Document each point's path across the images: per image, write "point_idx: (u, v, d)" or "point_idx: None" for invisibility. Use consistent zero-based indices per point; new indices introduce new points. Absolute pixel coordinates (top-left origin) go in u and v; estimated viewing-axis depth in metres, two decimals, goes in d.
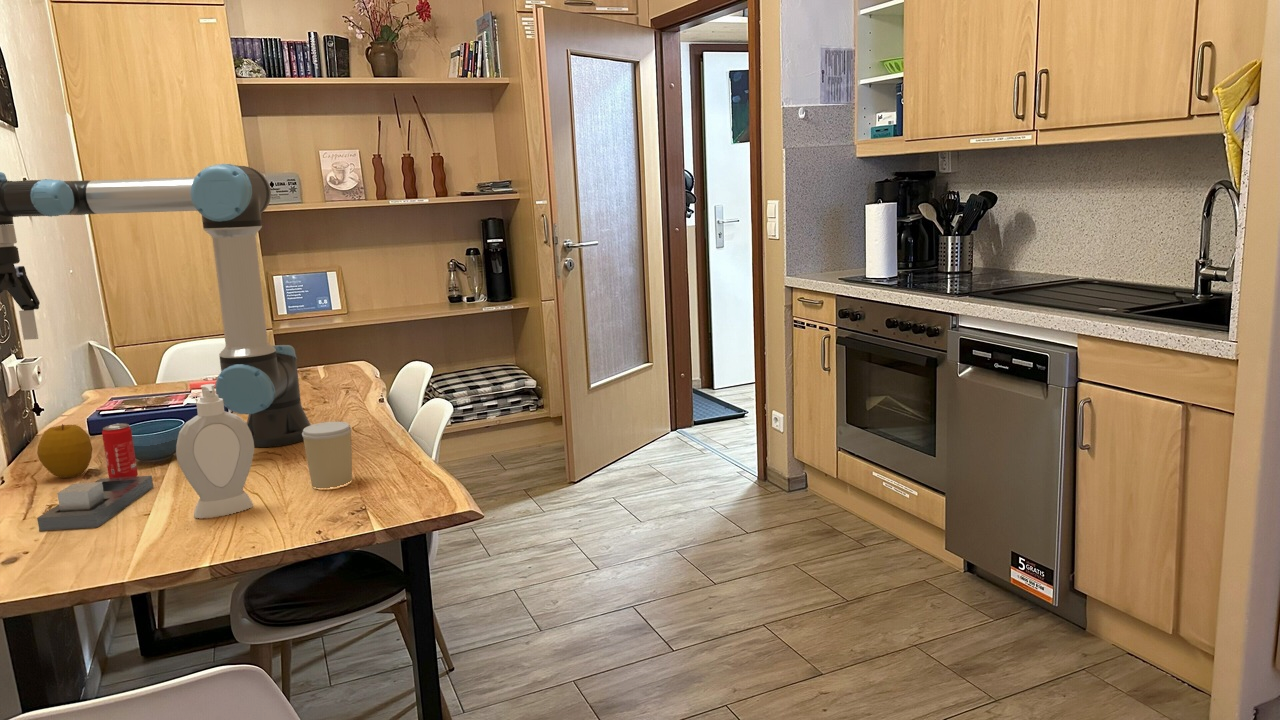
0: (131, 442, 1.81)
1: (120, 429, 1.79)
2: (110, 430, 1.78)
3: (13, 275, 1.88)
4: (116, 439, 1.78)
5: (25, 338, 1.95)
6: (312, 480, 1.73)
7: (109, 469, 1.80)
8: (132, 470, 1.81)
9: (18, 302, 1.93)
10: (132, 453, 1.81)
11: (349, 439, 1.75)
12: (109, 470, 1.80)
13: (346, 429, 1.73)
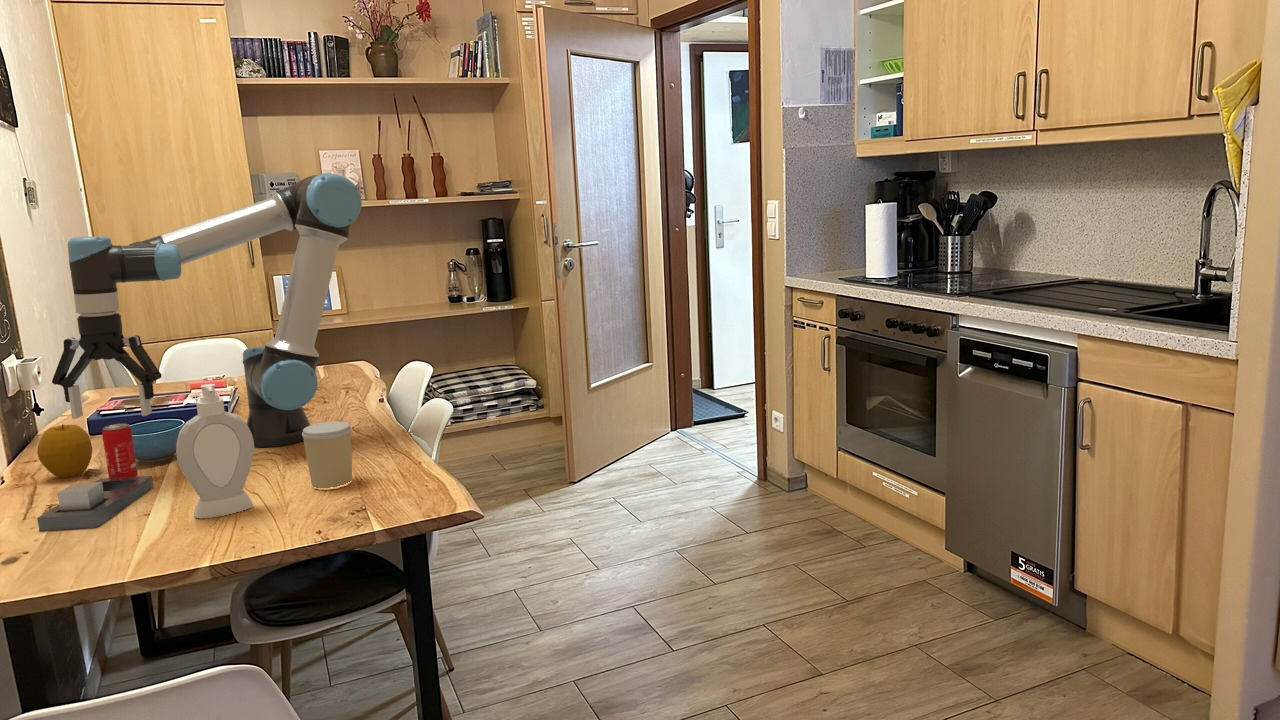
0: (131, 442, 1.81)
1: (120, 429, 1.79)
2: (110, 430, 1.78)
3: (103, 346, 1.75)
4: (116, 439, 1.78)
5: None
6: (312, 480, 1.73)
7: (109, 469, 1.80)
8: (132, 470, 1.81)
9: None
10: (132, 453, 1.81)
11: (349, 439, 1.75)
12: (109, 470, 1.80)
13: (346, 429, 1.73)
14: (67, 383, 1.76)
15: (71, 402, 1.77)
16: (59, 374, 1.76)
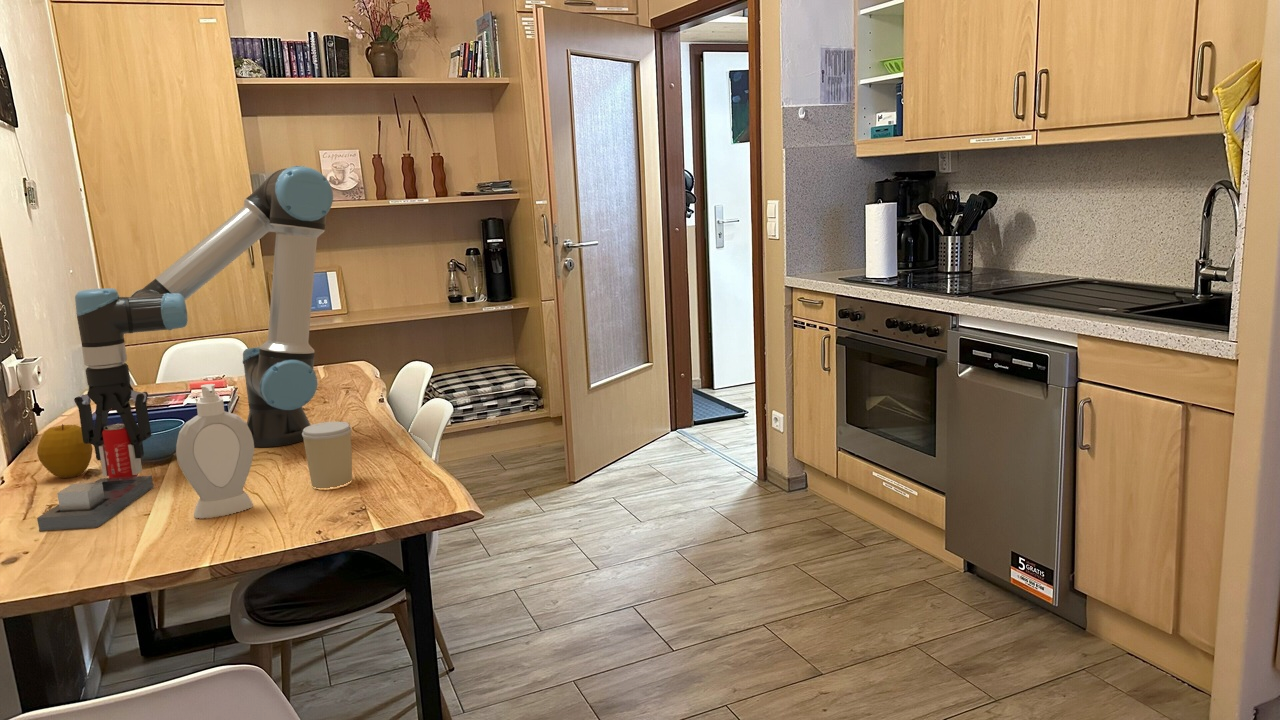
0: None
1: (120, 429, 1.79)
2: (110, 430, 1.78)
3: (111, 396, 1.77)
4: (117, 439, 1.78)
5: None
6: (312, 480, 1.73)
7: (109, 469, 1.80)
8: None
9: None
10: None
11: (349, 439, 1.75)
12: (109, 470, 1.80)
13: (346, 429, 1.73)
14: (97, 441, 1.79)
15: (102, 460, 1.80)
16: (86, 432, 1.79)
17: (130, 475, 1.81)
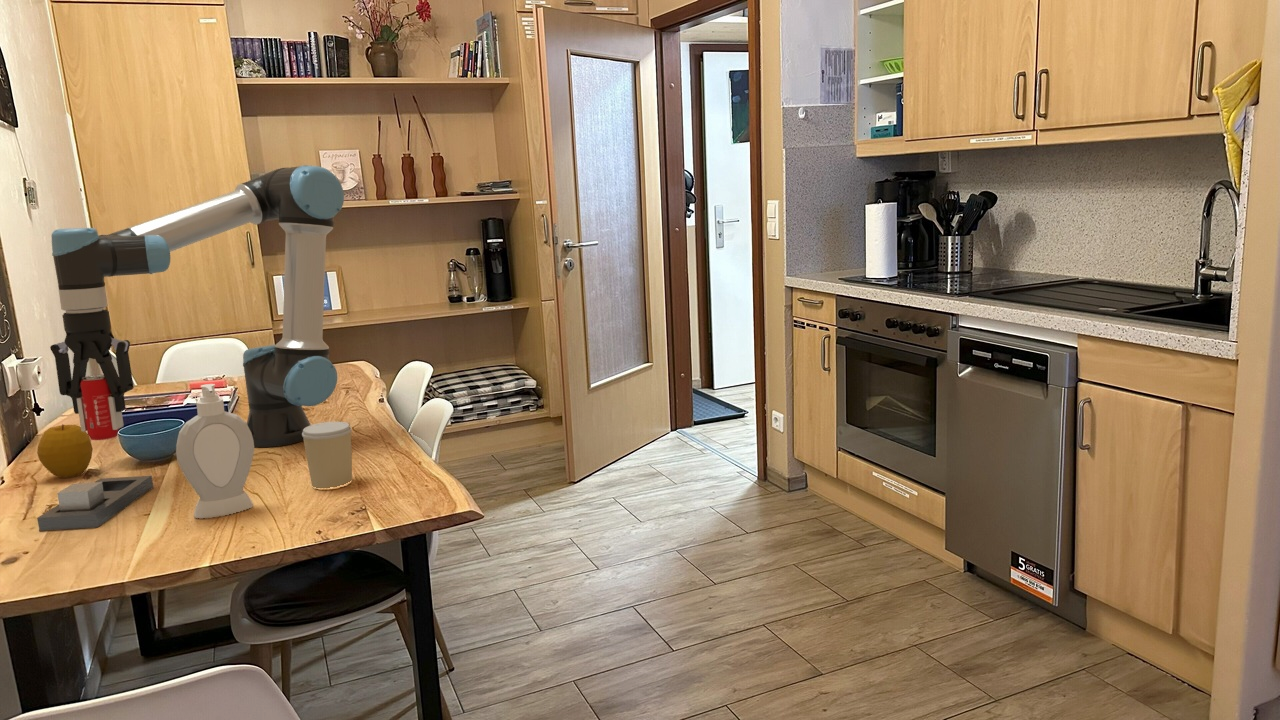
0: None
1: (100, 379, 1.66)
2: (89, 380, 1.65)
3: (90, 344, 1.65)
4: (96, 390, 1.66)
5: None
6: (312, 480, 1.73)
7: (88, 423, 1.67)
8: None
9: None
10: None
11: (349, 439, 1.75)
12: (88, 424, 1.67)
13: (346, 429, 1.73)
14: (75, 392, 1.67)
15: (80, 414, 1.67)
16: (63, 383, 1.66)
17: (110, 430, 1.68)
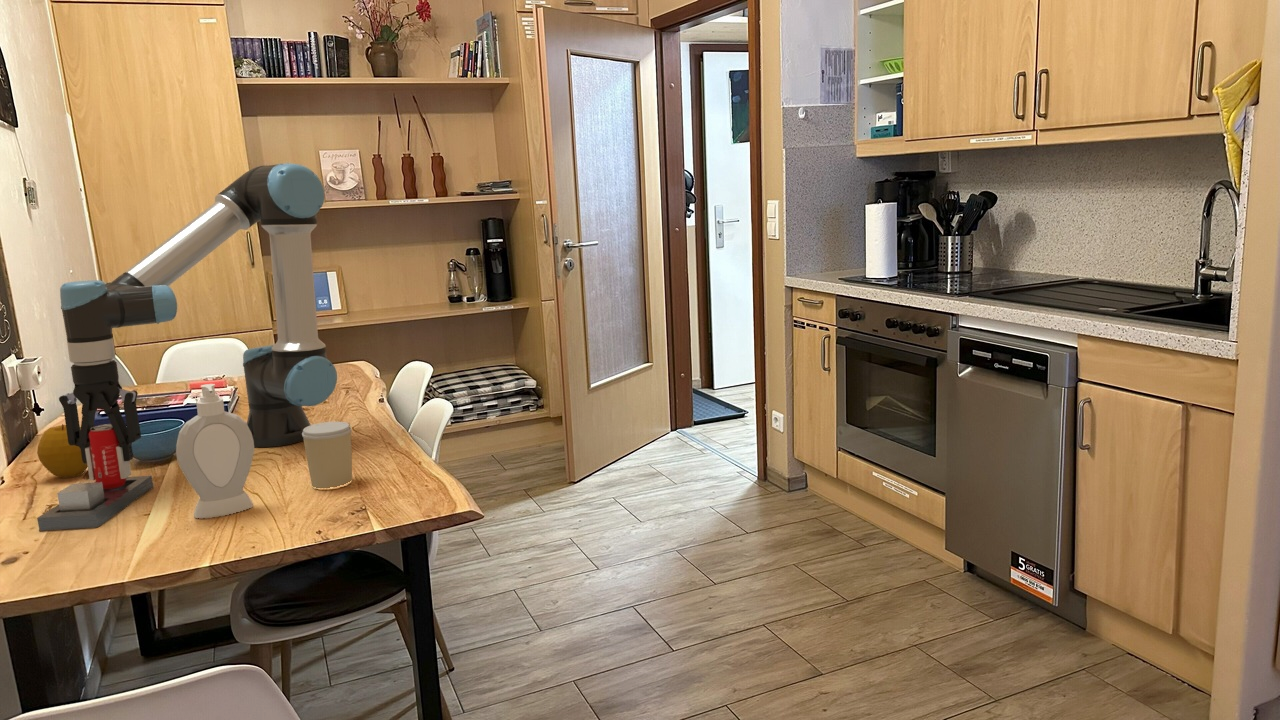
0: None
1: (108, 430, 1.68)
2: (97, 431, 1.67)
3: (98, 395, 1.67)
4: (104, 441, 1.68)
5: None
6: (312, 480, 1.73)
7: (96, 472, 1.69)
8: None
9: None
10: None
11: (349, 439, 1.75)
12: (96, 473, 1.69)
13: (346, 429, 1.73)
14: (83, 443, 1.69)
15: (88, 463, 1.69)
16: (72, 433, 1.68)
17: (118, 479, 1.70)
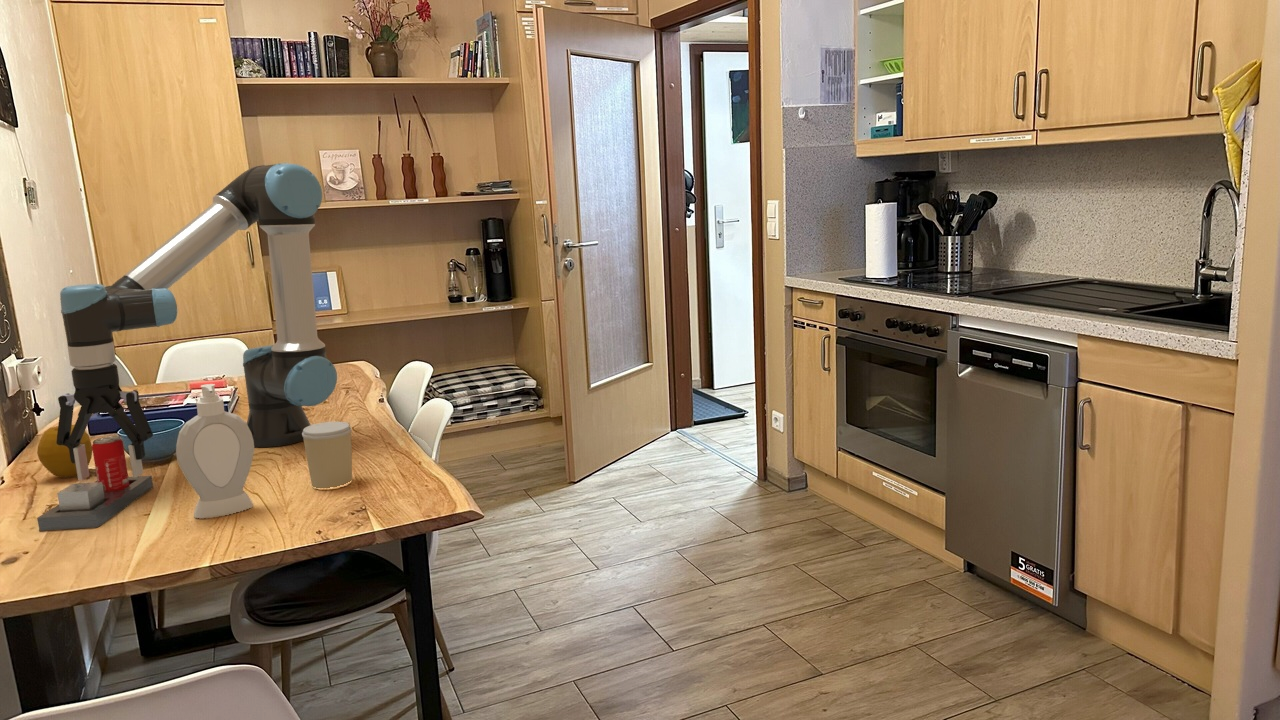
0: (123, 456, 1.71)
1: (111, 442, 1.69)
2: (100, 444, 1.68)
3: (99, 399, 1.67)
4: (107, 453, 1.68)
5: None
6: (312, 480, 1.73)
7: None
8: (124, 485, 1.71)
9: None
10: (124, 468, 1.71)
11: (349, 439, 1.75)
12: None
13: (346, 429, 1.73)
14: (72, 443, 1.68)
15: (77, 463, 1.69)
16: (62, 434, 1.68)
17: None
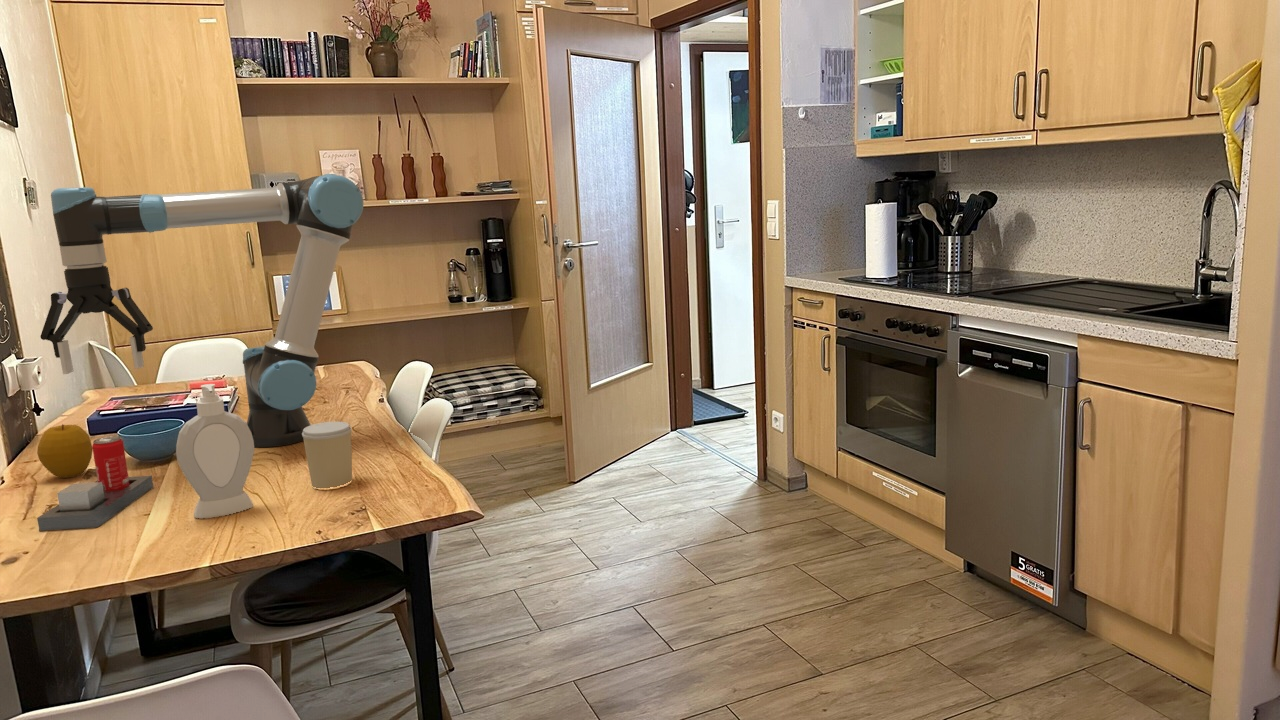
0: (123, 456, 1.71)
1: (111, 442, 1.69)
2: (101, 443, 1.68)
3: (92, 299, 1.73)
4: (107, 453, 1.68)
5: None
6: (312, 480, 1.73)
7: None
8: (124, 485, 1.71)
9: None
10: (124, 468, 1.71)
11: (349, 439, 1.75)
12: None
13: (346, 429, 1.73)
14: (56, 338, 1.74)
15: (61, 357, 1.75)
16: (48, 329, 1.74)
17: None
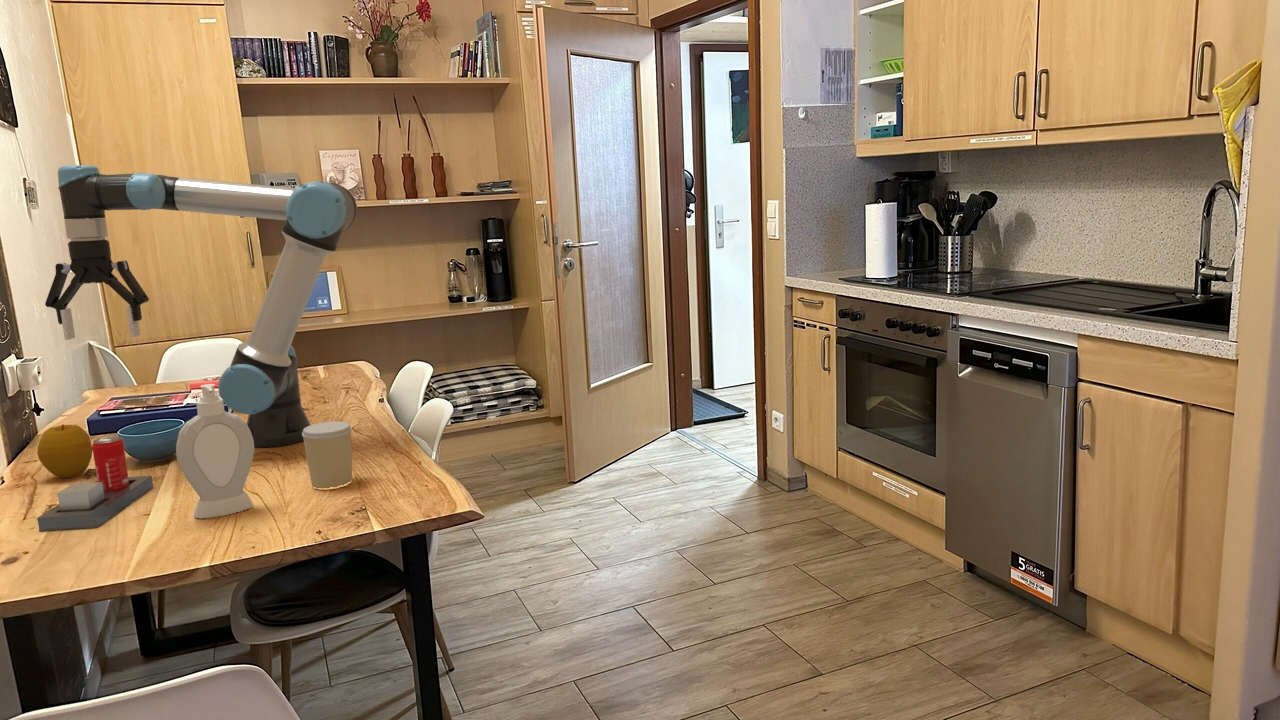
0: (123, 456, 1.71)
1: (111, 442, 1.69)
2: (101, 443, 1.68)
3: (93, 270, 1.85)
4: (107, 453, 1.68)
5: None
6: (312, 480, 1.73)
7: None
8: (124, 485, 1.71)
9: None
10: (124, 468, 1.71)
11: (349, 439, 1.75)
12: None
13: (346, 429, 1.73)
14: (59, 305, 1.87)
15: (63, 324, 1.87)
16: (52, 297, 1.86)
17: None
